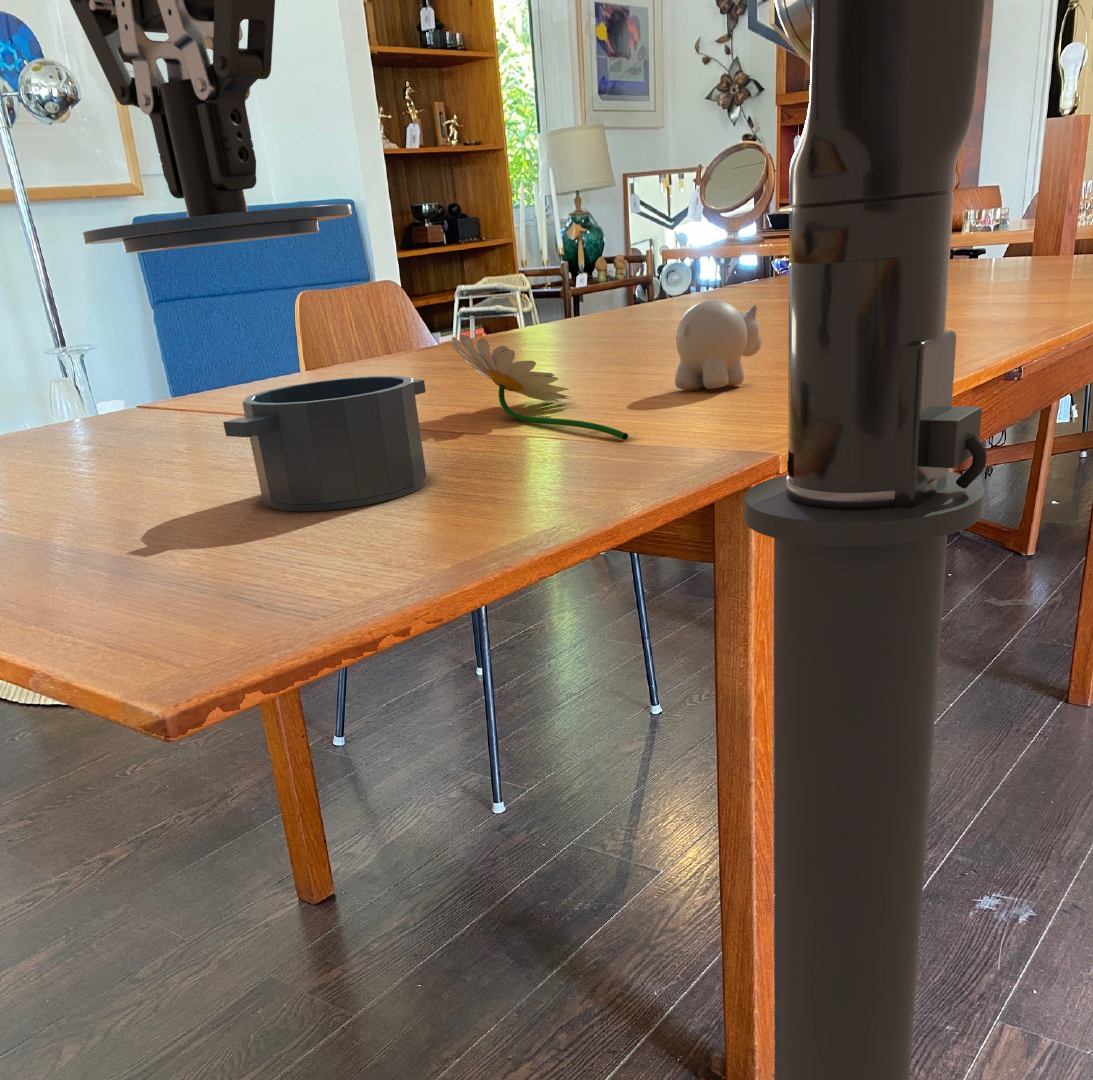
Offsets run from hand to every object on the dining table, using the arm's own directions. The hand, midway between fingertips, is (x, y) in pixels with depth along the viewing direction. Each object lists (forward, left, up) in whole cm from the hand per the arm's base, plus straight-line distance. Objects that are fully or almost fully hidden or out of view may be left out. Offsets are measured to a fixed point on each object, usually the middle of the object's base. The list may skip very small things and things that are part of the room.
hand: (213, 191), depth 54 cm
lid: (0, 0, -2) cm, 2 cm away
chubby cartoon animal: (+7, -66, -20) cm, 69 cm away
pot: (+13, -17, -20) cm, 29 cm away
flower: (+15, -44, -20) cm, 50 cm away
